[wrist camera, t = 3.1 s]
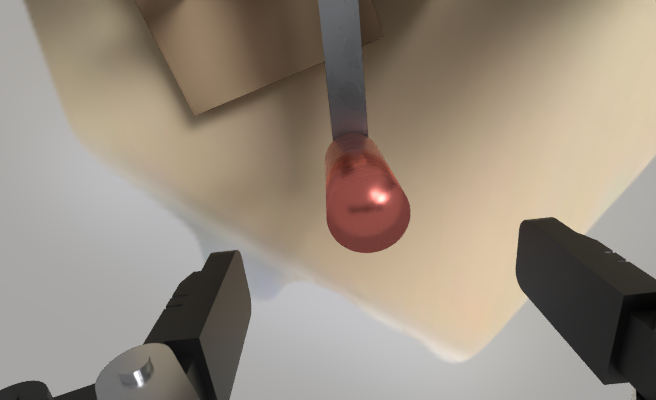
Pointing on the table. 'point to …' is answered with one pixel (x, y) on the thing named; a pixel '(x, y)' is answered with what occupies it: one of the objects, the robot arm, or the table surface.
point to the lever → (355, 144)
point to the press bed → (240, 43)
